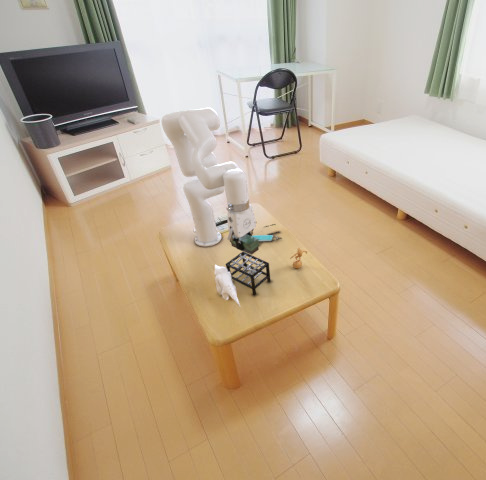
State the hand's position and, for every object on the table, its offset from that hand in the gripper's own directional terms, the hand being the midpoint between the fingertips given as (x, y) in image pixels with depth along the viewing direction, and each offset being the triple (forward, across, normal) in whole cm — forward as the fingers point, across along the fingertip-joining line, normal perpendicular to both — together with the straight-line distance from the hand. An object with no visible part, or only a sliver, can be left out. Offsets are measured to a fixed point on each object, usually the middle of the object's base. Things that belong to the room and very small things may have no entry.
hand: (244, 245), depth 129 cm
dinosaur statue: (+19, -11, +1) cm, 22 cm away
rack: (+19, 0, 0) cm, 19 cm away
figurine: (+19, +18, -12) cm, 29 cm away
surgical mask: (+19, +26, +16) cm, 36 cm away
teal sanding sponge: (+1, 0, 0) cm, 1 cm away
